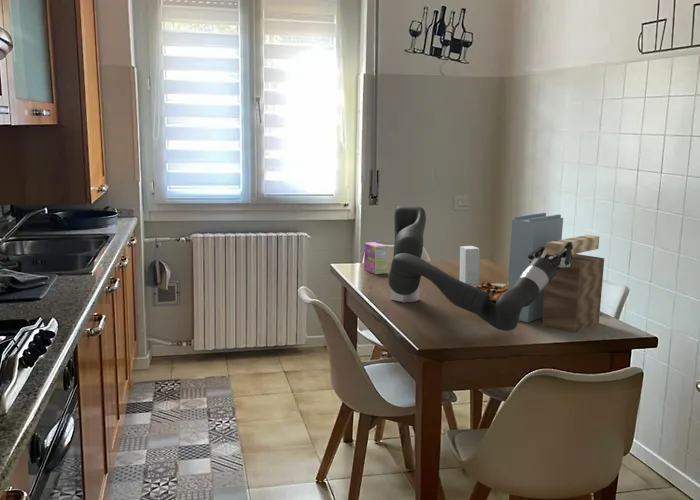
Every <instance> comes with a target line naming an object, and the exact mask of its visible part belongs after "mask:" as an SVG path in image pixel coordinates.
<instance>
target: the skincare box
mask: <svg viewBox="0 0 700 500" xmlns="http://www.w3.org/2000/svg"><path fill="white" fill-rule="evenodd" d="M480 254H481V253H480V248H479V247H476V246H475V245H462V246H459V280H460V281H462V282H464V283H466V284H469V285H471V286H473V285H479V284H480Z"/></svg>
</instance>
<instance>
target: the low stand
mask: <svg viewBox="0 0 700 500" xmlns="http://www.w3.org/2000/svg"><path fill="white" fill-rule="evenodd" d="M572 257H573V259H572V264H571V268H570V269H566V267H561V268H560V269H559V270H557V271H556V273H555V275H554V277H553V278H552V279H551V281H550V282H549V283H548V284H547V286H546V287H545V291H544V305H543V317H542V319H541V320H542V323H541V325H542V326H545V327H550V328H554V329H558V330H563V331H567V332H571V333H576V332H579V331H582V330H585V329H587V328H590V327H592V326H595V325H597V324H599V323H600V315H601V303H602V292H603V290H602V289H603V279H604V269H605V267H604V266H605V258H604V257H598V256H594V255H593V256H591V255H586V254H581V253H577V254H573V255H572Z"/></svg>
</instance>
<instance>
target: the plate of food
mask: <svg viewBox="0 0 700 500" xmlns="http://www.w3.org/2000/svg"><path fill="white" fill-rule="evenodd" d="M473 286H474V287H476V288H479V289H481V290H484V291H486V292H487V293H488V294H489V296H490V300H491V301H492V302H497V300H498V298H499V297H500V296H501V295H502V294H503V293H504V292H506V291H507V290H508V281H507V282H506V283H496V282H495V283H490V282H481V284H480V283H479V285H473Z"/></svg>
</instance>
